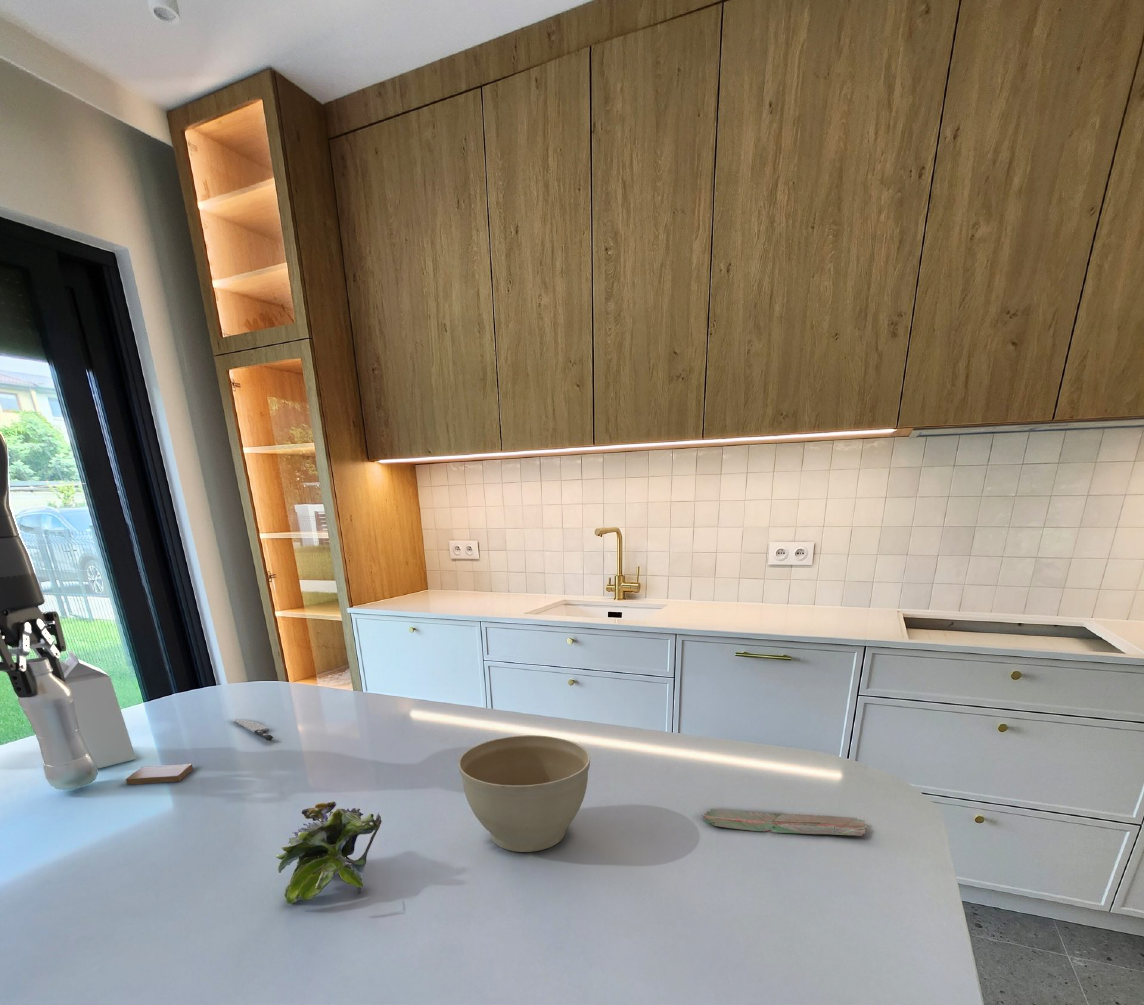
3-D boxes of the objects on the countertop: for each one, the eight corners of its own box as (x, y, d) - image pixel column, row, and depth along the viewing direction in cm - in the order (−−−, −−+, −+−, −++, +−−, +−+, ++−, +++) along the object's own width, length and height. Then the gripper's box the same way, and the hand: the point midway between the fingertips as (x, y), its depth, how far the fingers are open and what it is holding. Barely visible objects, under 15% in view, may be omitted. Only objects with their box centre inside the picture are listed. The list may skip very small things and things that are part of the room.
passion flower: (338, 905, 80) (364, 810, 82) (389, 923, 73) (416, 819, 75) (248, 894, 72) (280, 789, 74) (297, 913, 65) (330, 796, 67)
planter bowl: (527, 884, 74) (522, 798, 69) (440, 839, 84) (431, 761, 80) (617, 831, 84) (616, 753, 80) (530, 796, 95) (526, 726, 90)
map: (702, 812, 89) (702, 806, 89) (862, 817, 84) (863, 811, 84) (700, 830, 85) (700, 824, 84) (870, 836, 80) (870, 830, 80)
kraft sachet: (127, 784, 103) (125, 779, 103) (143, 772, 108) (141, 766, 107) (179, 781, 104) (177, 775, 103) (193, 769, 108) (191, 763, 108)
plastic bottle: (40, 794, 99) (-10, 666, 91) (77, 775, 105) (34, 654, 98) (76, 796, 98) (29, 667, 90) (112, 777, 104) (71, 655, 96)
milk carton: (126, 749, 118) (93, 645, 110) (136, 759, 113) (102, 651, 105) (79, 761, 113) (41, 653, 106) (88, 772, 108) (48, 660, 101)
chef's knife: (247, 717, 133) (232, 720, 131) (246, 712, 132) (231, 715, 130) (284, 739, 120) (268, 742, 118) (283, 733, 120) (267, 736, 118)
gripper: (8, 567, 96) (47, 678, 102) (-72, 580, 82) (-21, 706, 89) (62, 565, 96) (97, 676, 103) (-9, 577, 83) (37, 703, 89)
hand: (42, 689), depth 96 cm, fingers closed on plastic bottle, 6 cm apart
